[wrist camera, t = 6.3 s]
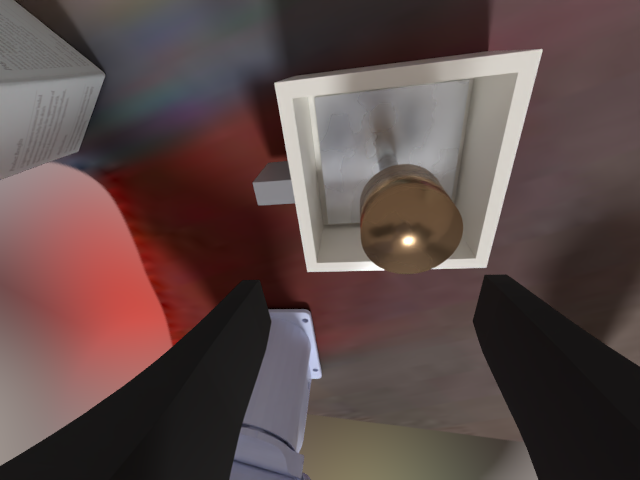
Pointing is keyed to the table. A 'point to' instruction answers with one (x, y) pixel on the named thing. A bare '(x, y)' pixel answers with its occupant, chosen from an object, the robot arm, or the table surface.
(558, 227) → the table surface
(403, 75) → the white framed panel box
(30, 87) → the skincare box
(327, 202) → the plunger
